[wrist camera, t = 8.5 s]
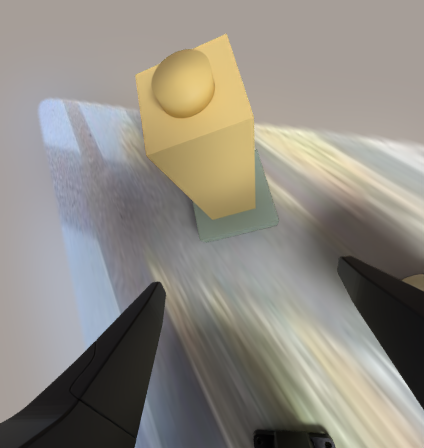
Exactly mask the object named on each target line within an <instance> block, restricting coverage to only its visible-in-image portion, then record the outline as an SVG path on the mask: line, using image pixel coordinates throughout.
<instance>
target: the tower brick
mask: <svg viewBox="0 0 424 448" xmlns="http://www.w3.org/2000/svg"><path fill="white" fill-rule="evenodd" d="M135 76H136V84H137V92H138V99H139V106H140V114H141V121H142V129H143V136H144V143H145V151H146V156H147V157H148V158H149V159H150V160H151V161H152V162H153V163H154V164H155V165H156V166H157V167H158V168H159V169H160V170H161V171H162V172H163V173H164V174H165V175H166V176H168V177H169V178H170V179H171V180H172V181H173V182H174V183H175V184H176V185H177V186H178V187H179V188H180V189H181V190H182V191H183V192H184V193H185V194H186V195H187V196H188V197H189V198H190V199H191V200H192V201H193V202H194V203H195V204H196V205H197V206H198V207H200V208H201V209H202V210H203V211H204V212H205V213H206V214H207V215H208V216H209V217H210V218H211V219H212V220H214V219H218V218H221V217H225V216H229V215H233V214H236V213H240V212H244V211H247V210H251V209H255V208H256V204H255V149H254V116H253V113H252V110H251V107H250V104H249V101H248V98H247V95H246V91H245V88H244V85H243V83H242V79H241V76H240V73H239V70H238V67H237V64H236V61H235V58H234V55H233V52H232V48H231V45H230V42H229V40H228V36H227V34H225V35H223V36H220V37H218V38H216V39H214V40H211V41H209V42H207V43H205V44H203V45H200V46H198V47H196V48H194V49H186V50H181V51H178V52H175V53H173V54H171V55H170V56H168V57H167V58H166V59H164V60H163V61H162V62H161V63H160V64H158V65H156V66H154V67H152V68H150V69H147V70H145V71H143V72H140V73H138V74H136V75H135Z"/></svg>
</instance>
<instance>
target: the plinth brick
mask: <svg viewBox="0 0 424 448" xmlns="http://www.w3.org/2000/svg"><path fill="white" fill-rule="evenodd" d="M192 202H193V201H192ZM255 204H256V208H255V209H251V210H247V211H244V212H240V213H236V214H233V215H229V216H225V217H221V218H218V219H214V220H212V219H211V218H210V217H209V216H208V215H207V214H206V213H205V212H204V211H203V210H202V209H201V208H200V207H198V206H197V205H196V204H195V203H194V202H193V207H194V212H195V217H196V222H197V228H198V233H199V238H200V240H201V241H203V242H206V243H207V242H211V241H215V240H219V239H223V238H227V237H231V236H236V235H240V234H244V233H248V232H252V231H256V230H260V229H264V228H268V227H272V226H276V225H277V223H278V221H279V219H278V215H277V212H276V209H275V206H274V203H273V199H272V196H271V193H270V190H269V186H268V183H267V180H266V177H265V174H264V170H263V167H262V164H261V161H260V157H259V154H258V151H257V149H256V150H255Z"/></svg>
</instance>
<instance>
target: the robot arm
mask: <svg viewBox="0 0 424 448" xmlns="http://www.w3.org/2000/svg"><path fill="white" fill-rule="evenodd" d="M337 271H338V274H339V276H340V278H341V280H342V282H343V284H344V286H345V288H346V290H347V292H348V294H349V295H350V297H351V299H352V301H353V303H354V305H355V306H356V308H357V310H358V311H359V313H360V314H361V316H362V317H363V319H364V320H365V322H366V323H367V325H368V326H369V328H370V329H371V331H372V332H373V334H374V335H375V337H376V338H377V340H378V341H379V343H380V344H381V346H382V347H383V349H384V350H385V352H386V353H387V355H388V357H389V358H390V360H391V361H392V363H393V364H394V366H395V367H396V369H397V370H398V372H399V373H400V375H401V376H402V378H403V379H404V381H405V382H406V384H407V385H408V387H409V388H410V390H411V391H412V393H413V394H414V396H415V397H416V399H417V400H418V402H419V403H420V405H421V407H422V408H423V410H424V291H422V290H420V289H418V288H416V287H414V286H412V285H410V284H408V283H406V282H404V281H402V280H400V279H398V278H396V277H394V276H391V275H389V274H387V273H385V272H383V271H381V270H379V269H377V268H375V267H373V266H371V265H369V264H367V263H365V262H363V261H360V260H358V259H356V258H354V257H352V256H341V257H340V258H339V262H338V268H337ZM165 299H166V292H165V290H164V288H163V286H162V284H161V282H153V283H151V284H150V285H149V286H148V287H147V288H146V289H145V290H144V291H143V292H142V293H141V294H140V295H139V297H138V298H137V299H136V300H135V301H134V302H133V303H132V304H131V305H130V306H129V307H128V308H127V309H126V310H125V311H124V312H123V313H122V314H121V315H120V316H119V317H118V318H117V319H116V320H115V321H114V322H113V323H112V324H111V325H110V326H109V327H108V328H107V329H106V331H105V332H104V333H103V334H102V335H101V336H100V337H99V338H98V339H97V341H95V342H94V343H93V344H92V345H91V346H90V347H89V348H88V349H87V350H86V351H85V352H84V353H83V354H82V355H81V356H80V357H79V358H78V359H77V360H76V361H75V362H74V363H73V364H72V365H71V366H70V367H69V368H68V369H67V370H66V371H64V372H63V373H62V374H61V375H60V376H59V377H58V378H57V379H56V380H55V381H54V382H52V384H50V385H49V386H48V387H47V388H46V389H45V390H44V391H43V392H42V393H41V394H39V395H38V396H37V397H36V398H35V399H34V400H33V401H32V402H31V403H30V404H29V405H27V406H26V407H25V408H24V409H23V410H21V411H20V412H19V413H17V414H15V415H14V416H12V417H11V418H9V419H8V420H6V421H4V422H2V423H0V448H134V447H135V443H136V438H137V434H138V429H139V425H140V420H141V416H142V412H143V407H144V403H145V398H146V394H147V390H148V385H149V381H150V376H151V372H152V368H153V363H154V359H155V354H156V350H157V346H158V341H159V337H160V332H161V328H162V323H163V315H164V307H165ZM258 437H259V438H261V439H262V440H258V439H257V438H258ZM253 441H254V448H335V444H334V442H333V440H332V438H331V437H330V436H329V435H328V434H323V433H306V432H299V431H280V430H276V431H268V430H256V431H255V432H254V440H253ZM326 442H330V444H329V445H326V444H325V443H326Z"/></svg>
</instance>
